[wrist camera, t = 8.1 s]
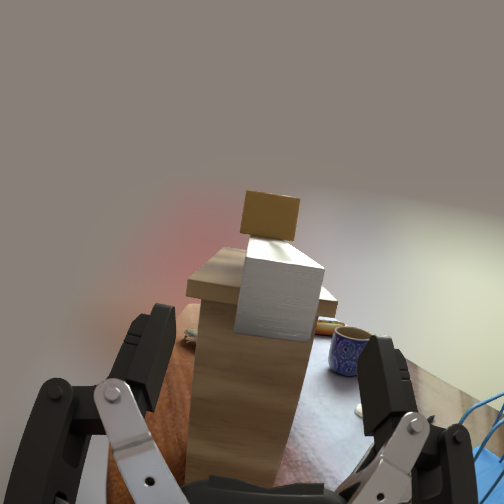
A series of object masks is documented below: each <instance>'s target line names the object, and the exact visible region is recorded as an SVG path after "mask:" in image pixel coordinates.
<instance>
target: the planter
mask: <svg viewBox="0 0 504 504" xmlns="http://www.w3.org/2000/svg"><path fill="white" fill-rule="evenodd" d="M371 336H372V334H371V333H369V332H368V331H365V330H363V329H359V328H355V327H348V326H340V327H336V328H335V329H334V333H333V337H332V341H331V345H330V350H329V356H328V362H329V365H330V367H331V369H332V370H333V371H334V372H336V373H338V374H340V375H344V376H354V375H357V360H358V357H359V355H360V353H361V352H362V350H363V349H364V347H365V345H366V344H367V342H368V340H369V339H370V337H371Z"/></svg>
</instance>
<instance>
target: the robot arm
mask: <svg viewBox="0 0 504 504" xmlns="http://www.w3.org/2000/svg"><path fill="white" fill-rule="evenodd" d="M175 339H176V320H175V307H174V306H169V305H164V304H159V303H156V304H155V305H154V307H153V309H152V312H151V314H150V315H146V314H140V315H139V316H138V317H137V318H136V319H135V320H134V321H133V322H132V323H131V326H130V328H129V330H128V332H127V335H126V337H125V339H124V343H123V344H122V346H121V348H120V351H119V353H118V355H117V358H116V360H115V363H114V365H113V368H112V370H111V372H110V374H109V376H108V377H107V378H106V380H104V381H102V382H101V383H99V384H98V385H94V386H71V385H70V384H69V383H68V382H67V381H66V380H64V379H62V378H52V379H49V380H47V381H46V382H45V383H44V384H43V385H42V387H41V389H40V391H39V393H38V397H37V399H36V401H35V404H34V406H33V409H32V411H31V414H30V417H29V419H28V422H27V425H26V428H25V431H24V433H23V436H22V439H21V442H20V445H19V449H18V452H17V455H16V458H15V462H14V465H13V468H12V472H11V475H10V479H9V483H8V486H7V490H6V494H5V499H4V503H3V504H75V502H76V497H77V493H78V488H79V484H80V479H81V475H82V471H83V466H84V463H85V459H86V454H87V451H88V447H89V443H90V440H91V436H92V435H107V437H108V439H109V442H110V444H111V447H112V450H113V451H112V453H113V456H114V459H115V462H116V464H117V466H118V468H119V471H120V473H121V475H122V477H123V479H124V481H125V484H126V486H127V488H128V490H129V492H130V494H131V496H132V498H133V500H134V502H135V504H398V503H399V502H400V500H401V498H402V497H403V495H404V493H405V492H406V490H407V488H408V486H409V484H410V482H411V486H412V504H479V501H478V490H477V480H476V472H475V464H474V457H473V451H472V445H471V439H470V435H469V432H468V430H467V429H466V428H465V427H464V426H463V425H461V424H453V425H451V426H449V427H448V428H447V429H445V428H441V427H437V426H433V425H430V424H429V423H428V421H427V419H426V418H425V417H424V416H423V415H422V414H420V413H418V410H417V405H416V401H415V396H414V392H413V387H412V383H411V380H410V375H409V372H408V367H407V363H406V359H405V357H404V356H403V354H402V353H401V351H400V350H399V349H394V346H393V342H392V339H391V337H390V336H384V335H372V336H371V337H370V339H369V340H368V342H367V344H366V345H365V347H364V349H363V350H362V352H361V353H360V355H359V357H358V360H357V375H358V382H359V390H360V398H361V406H362V415H363V424H364V434H365V436H374V442H373V443H372V444H371V446H370V447H369V449H368V450H367V452H366V453H365V455H364V456H363V458H362V459H361V461H360V462H359V463H358V465H357V466H356V468H355V469H354V470H353V472H352V473H351V474H350V476H349V477H348V478H347V479H346V480H345V481H344V482H343V483H342V484H341V485H340V486H339V487H338V488H337V489H336V490H335V492H333V491H330V490H327V489H324V483H295V484H290V485H284V486H279V487H273V488H265V487H262V486H258V485H255V484H252V483H249V482H246V481H243V480H241V479H236V478H229V477H221V476H215V475H209V479H203V480H197V481H193V482H189V483H187V484H184V485H182V486H180V487H179V485H178V484H177V482H176V480H175V478H174V477H173V475H172V473H171V471H170V470H169V468H168V466H167V464H166V462H165V460H164V458H163V457H162V455H161V453H160V451H159V449H158V447H157V445H156V443H155V441H154V439H153V438H152V436H151V434H150V432H149V430H148V427H147V425H146V423H145V421H144V418H145V414H146V411H149V412H153V413H154V411H155V407H156V404H157V400H158V397H159V393H160V390H161V387H162V383H163V380H164V377H165V373H166V370H167V367H168V363H169V360H170V357H171V354H172V350H173V347H174V344H175ZM410 471H411V475H410Z"/></svg>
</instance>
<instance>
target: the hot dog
mask: <svg viewBox="0 0 504 504" xmlns="http://www.w3.org/2000/svg"><path fill="white" fill-rule="evenodd" d="M340 326H345V324H344V323H341V322H337V321H326V320H318V322H317V326H316V331H315V334H321V335H333V333H334V329H335V328H336V327H340Z"/></svg>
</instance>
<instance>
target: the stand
mask: <svg viewBox="0 0 504 504" xmlns="http://www.w3.org/2000/svg"><path fill="white" fill-rule="evenodd" d="M246 251H247V250H241V249H234V248H228V247H223V248H222V249H221V250H220V251H219V252H218V253H217V254H216V255H214V256H213V257H212V258H211V259H210V260H209V261H207V262H206V263H205V264H204V265H203V266H202V267H201V268H200V269H199V270H197V271H196V272H195V273H194V274H193V275H192V276H191V277H190V278H188V280H187V289H186V296H188V297H193V298H199V299H201V307H200V315H199V324H198V332H197V341H196V351H195V360H194V370H193V380H192V391H191V402H190V414H189V426H188V440H187V454H186V470H185V484H187V483H189V482H193V481H197V480H203V479H209V475H215V476H221V477H229V478H236V479H241V480H243V481H246V482H249V483H252V484H255V485H258V486H262V487H265V488H273V485H274V482H275V479H276V476H277V473H278V470H279V466H280V463H281V460H282V457H283V454H284V450H285V447H286V444H287V440H288V437H289V433H290V430H291V426H292V423H293V419H294V416H295V412H296V408H297V405H298V401H299V397H300V393H301V390H302V386H303V382H304V378H305V374H306V370H307V366H308V361H309V357H310V353H311V349H312V344H313V340H314V336H315V331H316V326H317V322H318V317H319V316H322V317H330V318H335V314H336V309H337V305H338V301H337V300H336V299H335V298H334V297H333V296H332V295H331V294H330V293H329V292H328V291H327V290H326V289H325V288H324V287H323V286H322V288H321V293H320V298H319V303H318V308H317V313H316V317H315V322H314V327H313V331H312V336H311V340H310V343H305V342H297V341H288V340H280V339H272V338H265V337H258V336H251V335H244V334H237V333H234V327H235V320H236V314H237V307H238V300H239V294H240V287H241V281H242V274H243V267H244V261H245V255H246Z"/></svg>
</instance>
